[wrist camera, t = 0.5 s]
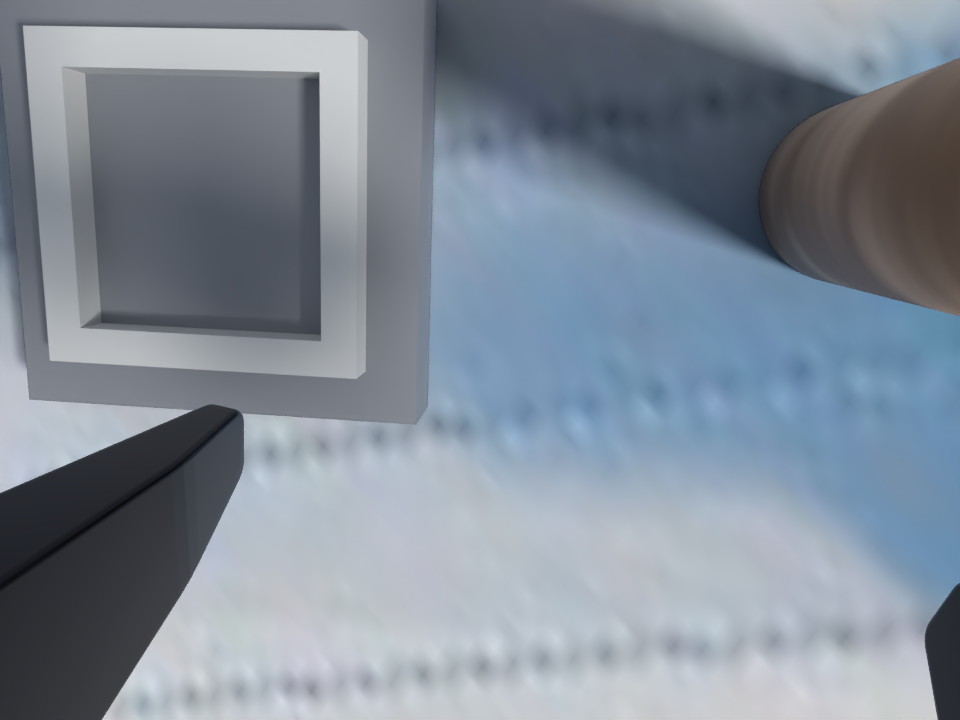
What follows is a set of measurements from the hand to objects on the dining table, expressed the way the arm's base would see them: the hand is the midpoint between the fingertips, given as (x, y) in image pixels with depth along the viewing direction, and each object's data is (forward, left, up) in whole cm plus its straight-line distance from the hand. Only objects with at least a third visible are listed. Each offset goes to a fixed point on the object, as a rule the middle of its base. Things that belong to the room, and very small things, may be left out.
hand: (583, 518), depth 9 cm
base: (+3, +10, -14) cm, 17 cm away
